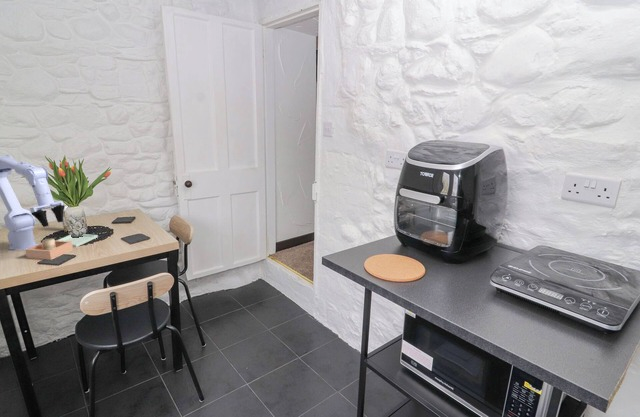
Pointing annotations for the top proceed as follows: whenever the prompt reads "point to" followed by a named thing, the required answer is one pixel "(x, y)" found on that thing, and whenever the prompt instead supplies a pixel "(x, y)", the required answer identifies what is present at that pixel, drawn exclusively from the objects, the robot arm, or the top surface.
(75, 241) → the sage tray
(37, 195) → the robot arm
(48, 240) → the beech cylinder
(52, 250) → the salmon tray
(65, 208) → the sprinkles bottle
